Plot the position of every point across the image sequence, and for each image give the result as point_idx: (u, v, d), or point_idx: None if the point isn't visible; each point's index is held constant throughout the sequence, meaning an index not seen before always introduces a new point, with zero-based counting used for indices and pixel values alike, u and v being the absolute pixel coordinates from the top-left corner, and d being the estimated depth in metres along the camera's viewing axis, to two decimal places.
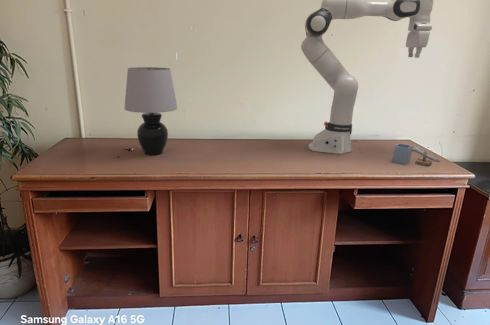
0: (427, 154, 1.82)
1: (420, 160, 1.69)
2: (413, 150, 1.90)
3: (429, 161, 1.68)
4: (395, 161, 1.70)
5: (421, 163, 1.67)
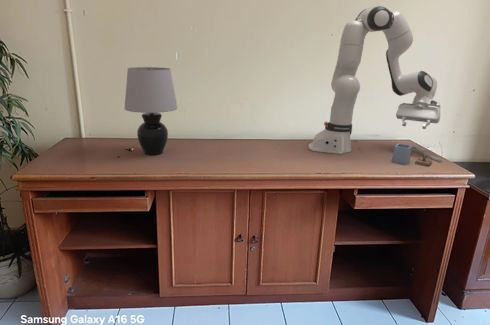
0: (428, 154, 1.82)
1: (420, 160, 1.69)
2: (414, 150, 1.89)
3: (429, 161, 1.68)
4: (395, 161, 1.70)
5: (421, 163, 1.67)
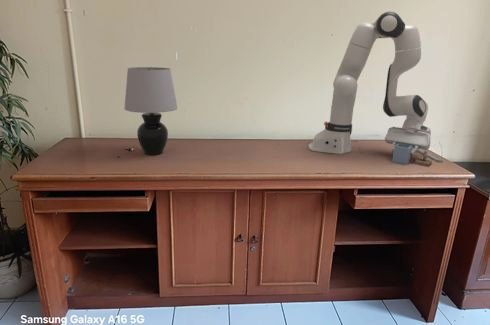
0: (429, 154, 1.81)
1: (420, 160, 1.69)
2: None
3: (429, 161, 1.68)
4: (395, 161, 1.70)
5: (421, 163, 1.67)
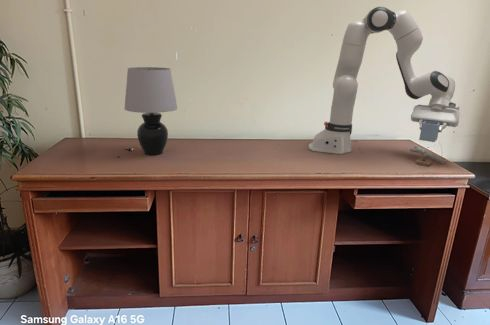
0: (431, 155, 1.81)
1: (420, 160, 1.69)
2: (417, 151, 1.88)
3: (429, 161, 1.68)
4: (422, 139, 1.64)
5: (421, 163, 1.67)
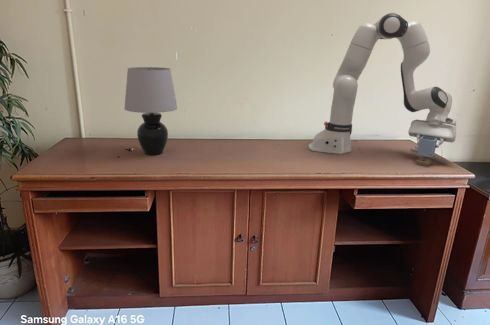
0: None
1: (420, 160, 1.69)
2: None
3: (429, 161, 1.68)
4: (420, 154, 1.66)
5: (421, 163, 1.67)
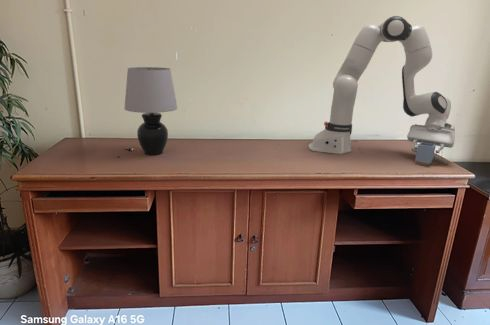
0: None
1: None
2: None
3: None
4: (418, 160, 1.67)
5: (421, 163, 1.67)
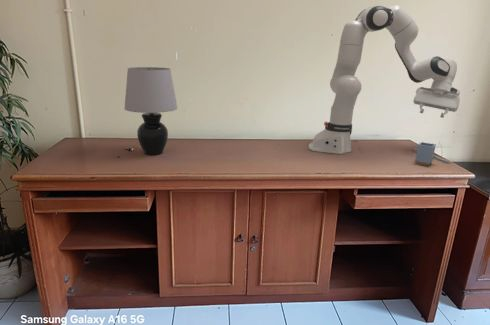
0: (435, 155, 1.80)
1: None
2: None
3: None
4: (418, 160, 1.67)
5: (421, 163, 1.67)
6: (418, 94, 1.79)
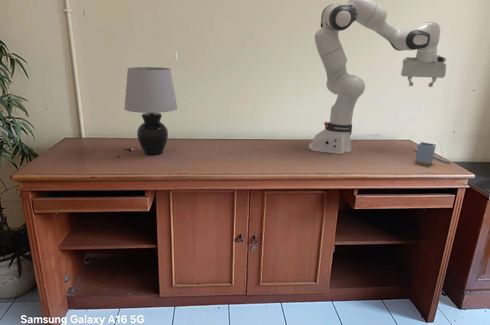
0: (435, 156, 1.80)
1: None
2: None
3: None
4: (418, 160, 1.67)
5: (421, 163, 1.67)
6: (406, 68, 1.76)
